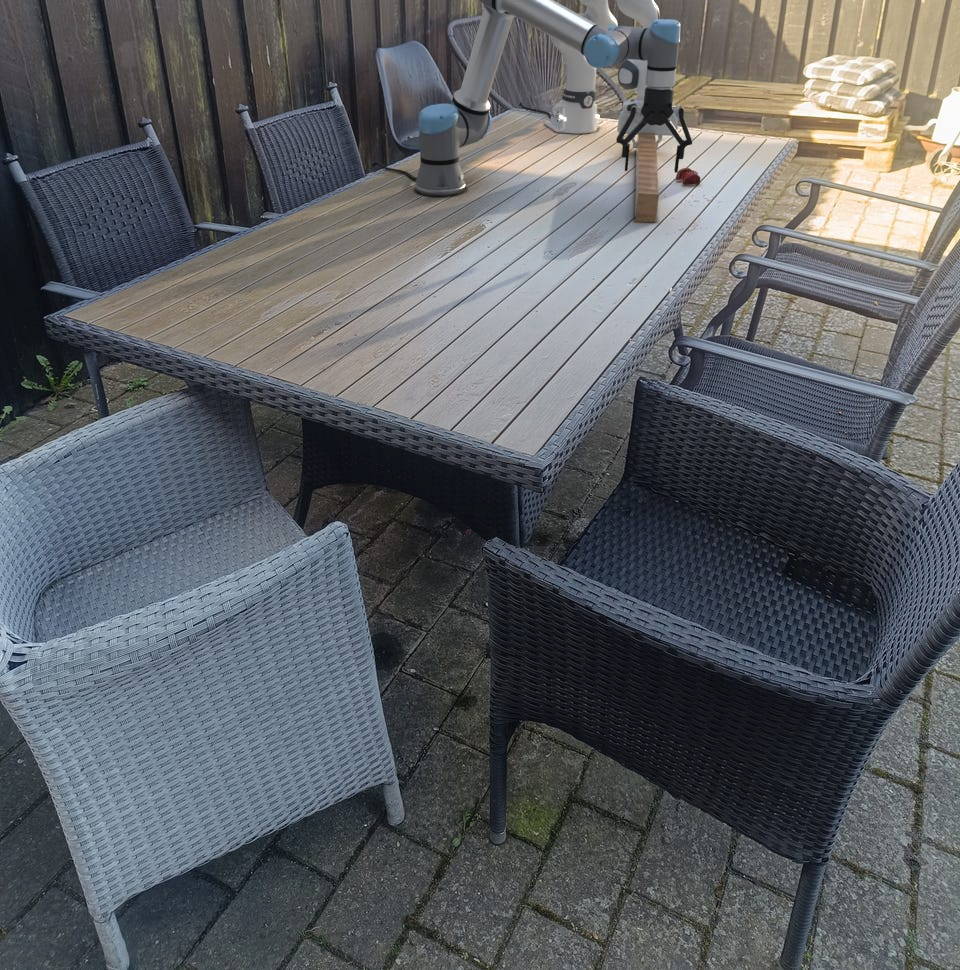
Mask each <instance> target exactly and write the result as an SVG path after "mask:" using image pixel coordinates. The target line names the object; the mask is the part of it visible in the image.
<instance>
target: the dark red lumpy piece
mask: <svg viewBox="0 0 960 970" xmlns="http://www.w3.org/2000/svg"><path fill="white" fill-rule="evenodd" d="M675 181H682V182H681V183H682V185H683V186H689V185H690V186H691V185H700V184H701V176H700V175H699V172H698V171H696V170H693V169H691V168H689V167H683V168H681V169H678V173H676V175H675Z"/></svg>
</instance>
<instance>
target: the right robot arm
mask: <svg viewBox="0 0 960 970" xmlns="http://www.w3.org/2000/svg"><path fill="white" fill-rule="evenodd" d="M578 1H579V2H580V3H581V4H582V5H584V6H585V7H586V9H585V12H583V13H578V14H579V15H581V16H583V17H584V18H586V19H588V20H590V21H591V22H593V23H595V24H597V25H598V26H600V27H602V28H604V29H606V30H607V31H608V29H609V28H610V27H612V26H619V25H618V24H619V23H618V20H617V19H616V17H615V16H614V14H613V13H612V12H611V10H610V7H609V0H578ZM615 1H616V6H617V8H618V10H619V11H620V12H621V13H622V14H623V15H625V16H626V17H628V18H630V19H633V20H635V21H637V23H639V24H640V26H641V28H650V27H651V23H652V21H654V20H658V19H661V14H660V9H659V6H658V4H657V3H656V2H655V0H615ZM549 38H550V42H551V43H552V45H553V46H554V47H555V48H556V49H557V50H558V51H559V53H560V54H561V56H562V59H563V62H564V65H565V66H564V68H565V88H563V91H561V94H562V96H561V100H560V101H558V103H556V104H555V105H554V106H553V107H552V109H551V112H549V111H546V110H540V109H536V108H531V107H527V106H525V105H524V103H523V101H520V102H519V104H518V106H519V107H521V108H522V110H523V109H524V110H526V111H530V112H534V113H539V114H543V115H544V114H545V115H548V117H549V119H547V120H545V121H544V123H543V124H544V125H545V126H546V127H548V128H549V129H551V130H552V131H554V132H556V133H562V134H563V133H564V134H565V133H566V134H580V135H581V134H591V133H594V132H596V131H597V129H598V128H600V125H599V123H598V119H599V118H600V114H598V104H596V99H597V89H596V81H597V68H594V67H592V66H590V65H589V64H588V62H587V61H586V59H585V56H584V55H582V54H580V53H578V52H577V51H575V50H573V49H571V48H570V47H568V46H566V45H564V44H563V43H561V42H559V41H557V40H556V39H554V38H552V37H550V36H549ZM646 73H647V60H645V61H644V60H632V59H628V60H625V61H622V62H620V65H619V67H618V71H617V80H618V83H619V86H620V87H621V88H622V89H623V90H626V91H635V90H636V91H637V95H636V97H635V98H631V99H628V100H625V101H624V102H623V104H622V110H621V111H620V114H619V116H618V119H617V125H616V126H617V127H616V132H617V133H618V134H619V133H620V131H621V129H622V128H623V126H624V124H625V122H626V121H627V119H628V117H629V115H630V113H631V108H632V106H633V105H635V106H636V107H641V108H642V107H643V104H644V94H645V88H646V87H648V86H646ZM672 107H673V108H679V107H678V106H677V105H672ZM643 118H644V117H643V115H642V113H641V112H639V113H638V115H637V116H635V117H634V119H633V121H632V123H631V124H630V126H629V128H628V130H627V131H626V133H625V135H629V133H630V132H631V131H632V130H633V129H634V128H635V127H636V126H637V125H638V124H639V123H640V121H641V120H642V119H643ZM669 119H670V121H671V122H672V124H673V125H674V127H675V128H676V130H677V131H678V127H679V124H678V122H679V121H678V120H679V117H677V116H676V114H675V113H673V114H672V115H671V116H670V118H669ZM639 133H643V134H655V136H657V141H656V150H658V149H659V144H660V143H661V141H662V140H663V136H667V137H670V136H671V137H674V136H673V134H672V133H671V131H670V130H669V128H668V127H667V126H666V124H663V125H662V126H659V125H649V124H648V123H647V124H646V125H645V126H644V127H643V128H642V129H641V130H640V131H639V132H638V133H637V134H636V135H638V134H639ZM635 138H636V136H635V137H634V138H633V139H632V140H631V141H632V149H636V148H637V141H636V140H635Z"/></svg>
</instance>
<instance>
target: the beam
mask: <svg viewBox="0 0 960 970" xmlns="http://www.w3.org/2000/svg"><path fill="white" fill-rule="evenodd" d="M656 139H657V138H656V135H655V134H643V133H639V134H637V137H636V142H637V148H635V196H634V197H635V200H634V201H635V202H634V206H635V207H634V208H635V209H634V221H635V222H636V223H656V221H657V213H658V206H659V197H660V189H659V173H658V156H657V149H656V142H657V141H656Z"/></svg>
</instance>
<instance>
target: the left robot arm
mask: <svg viewBox="0 0 960 970" xmlns="http://www.w3.org/2000/svg"><path fill="white" fill-rule="evenodd" d="M479 2H481V3H482V4H483V6H484V7H483V11H482V14H481V18H480V22H479V25H478V28H477V32H476V35H475V38H474V42H473V46H472V49H471V53H470V56H469V58H468V63H467V66H466V70H465V73H464V76H463V79H462V83H461V87H460V89H458V90H456V91H454V93H453V95H452V99H451V102H450V103H436V104H431V105H428V106H426V107H424V108H422V109H421V110H420V112H419V114H418V126H417V127H418V134H419V135H418V136H419V138H418V139H419V157H420V158H419V159H420V161H419V162H420V164H419V168H418V172H417V176H416V177H415V176H414V175H412V174H411V173H410V172H408V171H406V170H402V169H398V168H393V167H392V168H391V167H388V166H385V165H384V164H382V163H381V162H378V161H375V162H373V163H372V164H371V167H375V166H376V165H378V166H379V167H381V168H383V169H384V170H387V171H390V172H395V173H401V174H404V175H406V176H408V177H409V178H410V179H412V180H414V181H415V183H414V184H415V185H414V186H415V192H417V193H418V194H420V195H424V196H430V197H450V196H455V195H459V194H461V193H463V192H464V191H466V181H465V179H464V178H465V176H464V173H463V172H462V169H461V165H460V148H463V147H466V146H468V145H472V144H475V143H477V142H479V141H480V140H482V139H484V138H485V137H486V136H487V134H488V133H489V131H490V130H491V127H492V115H491V111H490V110H491V103H490V101H489V99H488V98H489V97H490V94H491V90H492V88H493V83H494V79H495V78H496V74H497V71H498V68H499V65H500V61H501V58H502V56H503V52H504V49H505V46H506V43H507V39H508V37H509V33H510V31H511V27H512V23H513V20H514V18H517V19H519V20H520V21H522V22H524V23H526V24H527V25H529V26H531V27H533V28H535V29H536V30H537V31H539V32H542V33H543V34H545V35H546V36H549V38H550V37H552V38H554V39H556V40H557V41H559V42H561V43H563V44H564V45H566V46H568V47H570V48H571V49H573V50H575V51H577V52H578V53H580V54H582V55H584V56H585V59H586V61H587V62H588V64H589V65H590V66H592V67H594V68H596V69H605V68H608V67H609V68H610V66H613V65H615V64H618V63H622V62H623V61H625V60H628V59H632V60H644V61H645V60H647V73H646V86H648V87H646V88H645V94H644V104H643V107H642V108H641V107H636V106H635V105H633V106H632V108H631V113H630V115H629V117H628V119H627V121H626V122H625V124H624V126H623V128H622V129H621V131H620V133H618V134H617V137H616V140H615V142H616V143H617V144H620V145H621V146H622V148H621V157H622V158H625V161H624V163H625V164H624V172H628V170H629V158H630V149H631V147H630V145H631V144H630V142H631V141H632V139H633V138H634V137H635V138H636V136H637V135H638V134H637V133H638V132H639V131H640V130H641V129H642V128H643V127H644V126H645V125H646V124H647V123H648V124H649V125H659V126H662V125H663V124H666V126H667V127H668V128H669V130H670V131H671V133H672V134H673V136H672V137H674V139H675V140H676V141H677V143H678V144H677V145H676V153H675V161H674V173H675V174H677V173H678V171H679V164H680V160H683V159H684V157H685V150H686V147H687V146H692V145H693V139H692V136H691V134H690V133H691V132H690V130H689V128H688V125H687V122H686V119H685V116H684V115H685V113H684V112H685V110H684V107H683V106H679V107H678V108H673V107H672V106H673V101H674V93H675V89H674V88H673V87H675V84H676V76H677V66H678V57H679V50H680V43H681V28H682V27H681V22H679V20H677V19H672V18H671V19H670V18H666V19H664V18H660V19H658V20H654V21H652V23H651V27H650V28H643V27H639V26H638V27H637V26H627V25H624V24H623V25H618V26H612V27H610V28H609V29H608V31H607V30H606V29H604V28H602V27H600V26H598V25H597V24H595V23H593V22H591V21H590V20H588V19H586V18H584V17H583V16H581V15H579V14H580V13H577V12H575V11H574V10H571V9H570V8H568V7H566V6H565V5H563V4H561V3H559V2H557V1H556V0H479ZM639 112H641V113H642V115H643V117H644V118H643V119H642V120H641V121H640V123H639V124H638V125H637V126H636V127H635V128H634V129H633V130H632V131H631V132H630V133H629V134H627V135H626V134H625V133H626V131H627V130H628V128H629V126H630V124H631V123H632V121H633V119H634V117H635V116H637V115H638V113H639ZM673 113H675V114H676V116H677V117H679V119H678V120H679V123H680V126H681V128H682V131H683V134H684V138H685V139H683V137H682V136H681V134H680V133H679V131H678V129H677V130H676V128H675V127H674V125H673V124H672V122H671V121H670V119H669V118H670V116H671V115H672V114H673ZM625 135H626V137H625V138H624V136H625ZM635 138H634V139H635Z"/></svg>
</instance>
